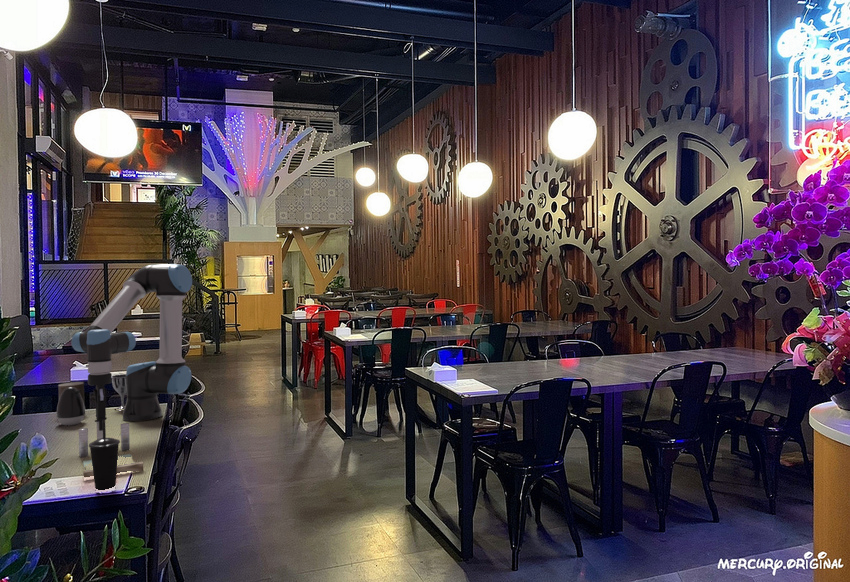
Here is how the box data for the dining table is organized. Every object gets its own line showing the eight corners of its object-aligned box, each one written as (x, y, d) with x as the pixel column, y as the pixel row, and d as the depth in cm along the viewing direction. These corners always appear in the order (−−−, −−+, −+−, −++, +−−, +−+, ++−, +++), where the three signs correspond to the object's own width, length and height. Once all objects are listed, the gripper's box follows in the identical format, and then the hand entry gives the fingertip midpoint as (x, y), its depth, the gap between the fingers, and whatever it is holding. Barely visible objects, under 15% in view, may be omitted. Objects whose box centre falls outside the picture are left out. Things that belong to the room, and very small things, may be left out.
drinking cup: (105, 485, 176) (103, 416, 176) (127, 487, 174) (125, 417, 173) (83, 494, 169) (81, 422, 168) (105, 497, 167) (104, 424, 166)
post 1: (87, 454, 207) (87, 427, 207) (88, 456, 205) (87, 429, 205) (79, 455, 206) (78, 428, 206) (79, 457, 204) (78, 430, 203)
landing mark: (130, 454, 207) (130, 453, 207) (136, 465, 195) (136, 464, 195) (82, 461, 199) (82, 461, 199) (85, 473, 187) (85, 472, 187)
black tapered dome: (70, 427, 244) (69, 389, 243) (50, 426, 247) (49, 388, 247) (91, 421, 254) (90, 385, 253) (72, 420, 257) (71, 384, 256)
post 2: (129, 448, 214) (128, 422, 214) (130, 450, 212) (129, 424, 212) (120, 449, 213) (120, 423, 212) (121, 451, 210) (121, 425, 210)
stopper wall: (142, 469, 190) (142, 461, 190) (143, 471, 189) (143, 463, 189) (83, 479, 182) (83, 470, 182) (83, 481, 180) (83, 472, 180)
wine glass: (134, 406, 283) (133, 373, 283) (129, 410, 275) (128, 376, 275) (116, 407, 282) (115, 374, 281) (110, 411, 274) (109, 377, 273)
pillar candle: (88, 415, 266) (87, 380, 266) (63, 419, 259) (62, 383, 259) (80, 412, 273) (79, 378, 273) (55, 415, 266) (54, 381, 265)
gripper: (86, 371, 223) (88, 436, 223) (89, 376, 212) (90, 444, 212) (109, 369, 227) (111, 433, 227) (113, 374, 216) (115, 441, 216)
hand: (101, 438), depth 220 cm, fingers closed
